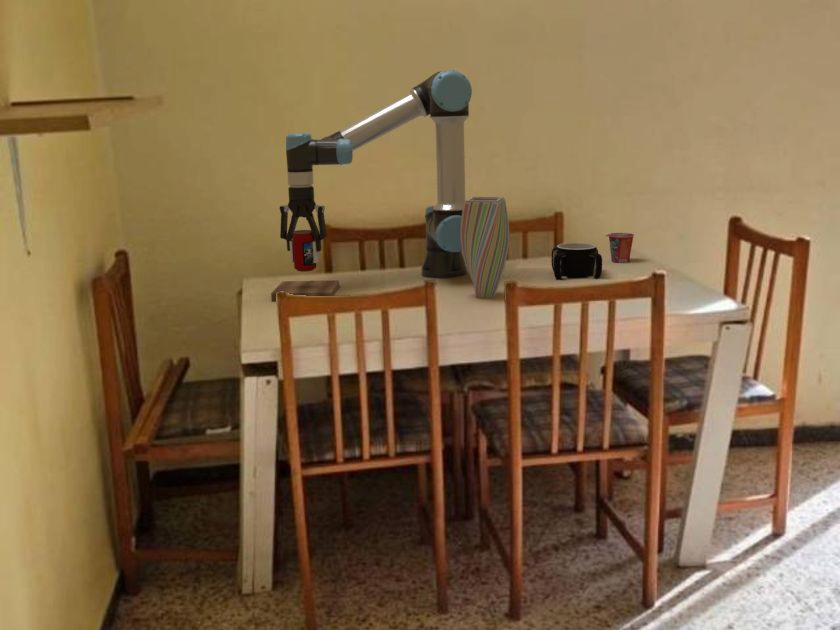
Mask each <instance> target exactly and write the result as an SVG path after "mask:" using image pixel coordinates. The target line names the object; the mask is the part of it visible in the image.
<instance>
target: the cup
mask: <svg viewBox="0 0 840 630" xmlns="http://www.w3.org/2000/svg"><path fill="white" fill-rule="evenodd" d="M605 237H608V239H609V249H610V259H611V262H612V263H613V264H625V263H629V262H630V258H631V253H632V245H633V241H634V237H635V234H634V233H631V232H612V233H608V234H606V235H605Z"/></svg>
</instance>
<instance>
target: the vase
mask: <svg viewBox="0 0 840 630" xmlns="http://www.w3.org/2000/svg"><path fill="white" fill-rule="evenodd" d="M506 203H507V202H506V199H505V198H504V197H503V196H471V197H470V198H468V199H465V202H464V205H463V211H462V218H461V233H460V235H461V245H462V254H463V257H464V260H465V263H466V266H467V272H468V274H469V276H470V279H471V283H472V285H473V289H474V293H475V295H474V296H475V298H476V299H477V298H480V299H481V298H482V299H483V298H495V297H496V295H497V291H498V288H499V285H500V283H501V280H502V276H503V273H504V269H505V266H506V264H507V263H506V262H507V258H508V252H509V243H510V223H509V216H508V215H509V213H508V207H507V204H506Z"/></svg>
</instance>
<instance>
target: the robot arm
mask: <svg viewBox="0 0 840 630" xmlns="http://www.w3.org/2000/svg"><path fill="white" fill-rule="evenodd" d="M472 89H473V88H472V85H471V81H470V80H469V79H468V77H466V76H465V74H463V73H461V72H459V71H457V70H452V69H448V70H447V69H446V70H442V71H441V70H440V71H437V72H435V73H434V74H432V75H430V76H429V77H427V78H426V79H425V80H423V81H422V82H420V83H419V84H418V85H416V86H413V87H412V88H411V89H410V91H409V93H407V94H406V95H404V96H402V97H399V98H398V99H397V100H394V101H393V102H390V103H388V104H387V105H385V106H383V107H381V108H379V109H378V110H375V111H374V112H372V113H369V114H368V115H365V117H362V118H360V119H358V120H356V121H355V122H353V123H351V124H349V125H347V126H345V127H343V128H342V129H340V130H338V131H336V132H334V133H332V134H330V135H328V136H325V137H323V138H321V139H313V137H312V135H311V133H309V132H294V133H288V134H287V135H286V137H285V154H286V169H287V171H286V172H287V185H288V186H289V187H288V188H287V189H288V190H287V191H288V203H287V204H285V205H284V204H283V205H280V206H279V211H280V230H279V231H280V234H279V236H280V239H283V240H285V241H286V250H287V252H289V255H290V258H289V259H290V263H294V255H293V238H292V237H293V235H294V233H295V231H296V227H297V223H298V221H299V218H305V219H306V221H307V223H308V225H309V227H310V230H311V231H312V233H313V236H314V238H315V240H314V241H313V257H314V263H316V264H317V263H319V262H320V252H321V251H322V240H325V239H327V237H328V233H327V228H326V220H325V214H324V213H325V207H326V206H324V205H319V204H317V203H316V202H315V191H314V186H312V185H313V184H314V170H313V167H314V166H329V165H330V166H331V165H332V166H336V165H338V166H339V165H340V166H342V165H350V164H351V163H352V162H353V159H354V157H353V156H354V153H353V152H354V151H355V150H357V149H360V148H362V147H363V146H365V145H368V144H369V143H371V142H373V141H374V140H376V139H378V138H380V137H381V138H382V136H384V135H386V134H388V133H390V132H392V131H393V130H396V129H398V128H400V127H401V126H403V125H406V124H408V123H409V122H411V121H413V120H415V119H416V118H418V117H421V116H422V117H425V118H426V117H427V116H429V117H430V119H431V120H432V121H433V122H434V123H435V148H436V149H435V153H436V155H435V157H436V184H437V185H436V190H437V191H436V192H437V203H436V204H434V205H431V206H427V207H426V208H425V213H424V218H425V248H426V249H425V250H426V251H425V256H424V260H423V262H422V267H421V276H422V277H424V278H427V279H453V278H458V277H463V276H466V275H467V274H468V268H467V265H466V262H465V259H464V255H463V251H462V245H461V235H460V233H461V218H462V211H463V205H464V202H465V201H466V173H465V172H466V170H465V169H466V167H465V164H466V162H465V157H466V156H465V121H466V120H467V119H468V118H469V116H470V115H469V113H470V111H469V110H470V107H469V104H470V101H471V98H472V93H473V90H472ZM289 210H290V212H291V213H292V214H291V219H290V222H289V223H290V224H289V227H288V221H289V220H288V219H289V214H288V212H289ZM314 211H315V212H316V213H317V214H316V215H317V221H318V222H317V223H318V226H317V223H316V221H315V215H314V214H313V212H314Z"/></svg>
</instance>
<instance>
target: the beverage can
mask: <svg viewBox="0 0 840 630" xmlns="http://www.w3.org/2000/svg"><path fill="white" fill-rule="evenodd" d="M292 238H293V239H292V240H293V255H294V262H293V268H294V270H296V271H298V272H304V273H305V272H313V271H314V270H315V269H316V268H317V263H314V257H313V241H314V240H315V238H314V236H313V233H312V231H311V229H297V230H295V231H294V235H293V237H292Z"/></svg>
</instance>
